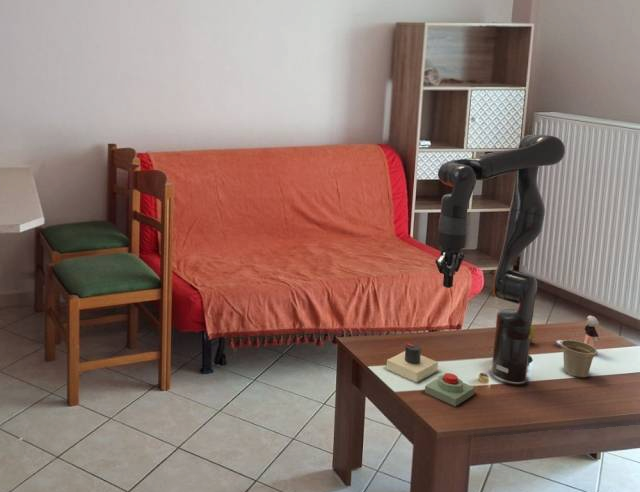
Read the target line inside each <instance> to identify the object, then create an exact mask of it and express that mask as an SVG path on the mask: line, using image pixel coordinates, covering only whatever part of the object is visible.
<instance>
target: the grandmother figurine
mask: <svg viewBox="0 0 640 492" xmlns="http://www.w3.org/2000/svg"><path fill="white" fill-rule="evenodd" d="M586 319H587V320H586V325H585V327H584V330H583V334H585V337H584V342H583V343H586V344H589V345H591V346H593V347H594V348H595V343H599V341H600V340H599V337H600V335H599V334H598V331H597V329H596V326H597V325H599V324H600V322H599V320H598V318H597V317H595V316H593V315H588V316H587V317H586Z"/></svg>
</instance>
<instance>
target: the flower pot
mask: <svg viewBox="0 0 640 492" xmlns="http://www.w3.org/2000/svg"><path fill="white" fill-rule="evenodd" d="M560 345H561V349H562V351H563V354H562V355H563V370H564V372H565V373H567V374H568V375H570V376H573V377H579V378H587V377H588V376H589V373H590V369H591V366H592V362H593V359H594V358H595V356H596V354H597V353H598V350H597V348H596V347H595V346H594V347H593V346H591V345H589V344H586V343H584V342H583V341H579V340H575V339H564V340H561V342H560Z"/></svg>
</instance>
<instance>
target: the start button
mask: <svg viewBox="0 0 640 492" xmlns="http://www.w3.org/2000/svg"><path fill="white" fill-rule="evenodd" d="M443 375H444V382H446V383H449V384H457V381H458V376H457V375H456V374H454V373H450V372H446V373H444V374H443Z"/></svg>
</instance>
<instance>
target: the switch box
mask: <svg viewBox="0 0 640 492" xmlns="http://www.w3.org/2000/svg"><path fill="white" fill-rule="evenodd" d="M475 388H476V387H475V386H473V385H470V384H467V383H465V382H463V380H461V379H460V378H458V381H457V384H449V383H446V382H444V374H441V375H439V376H438V377H437V378H436V379H434V380H433V381H431V382H429V383H427V384H426V385H425V386H424V393H425V394H427V395H429V396H431V397H434V398H436V399H438V400H440V401H443V402H445V403H447V404H448V405H451V406H453V407H457V406H458V405H460V404H462V403H463V402H465V401H466V400H468V399H469V398H471V397H473V396H474V395H475V391H476V390H475Z"/></svg>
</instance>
